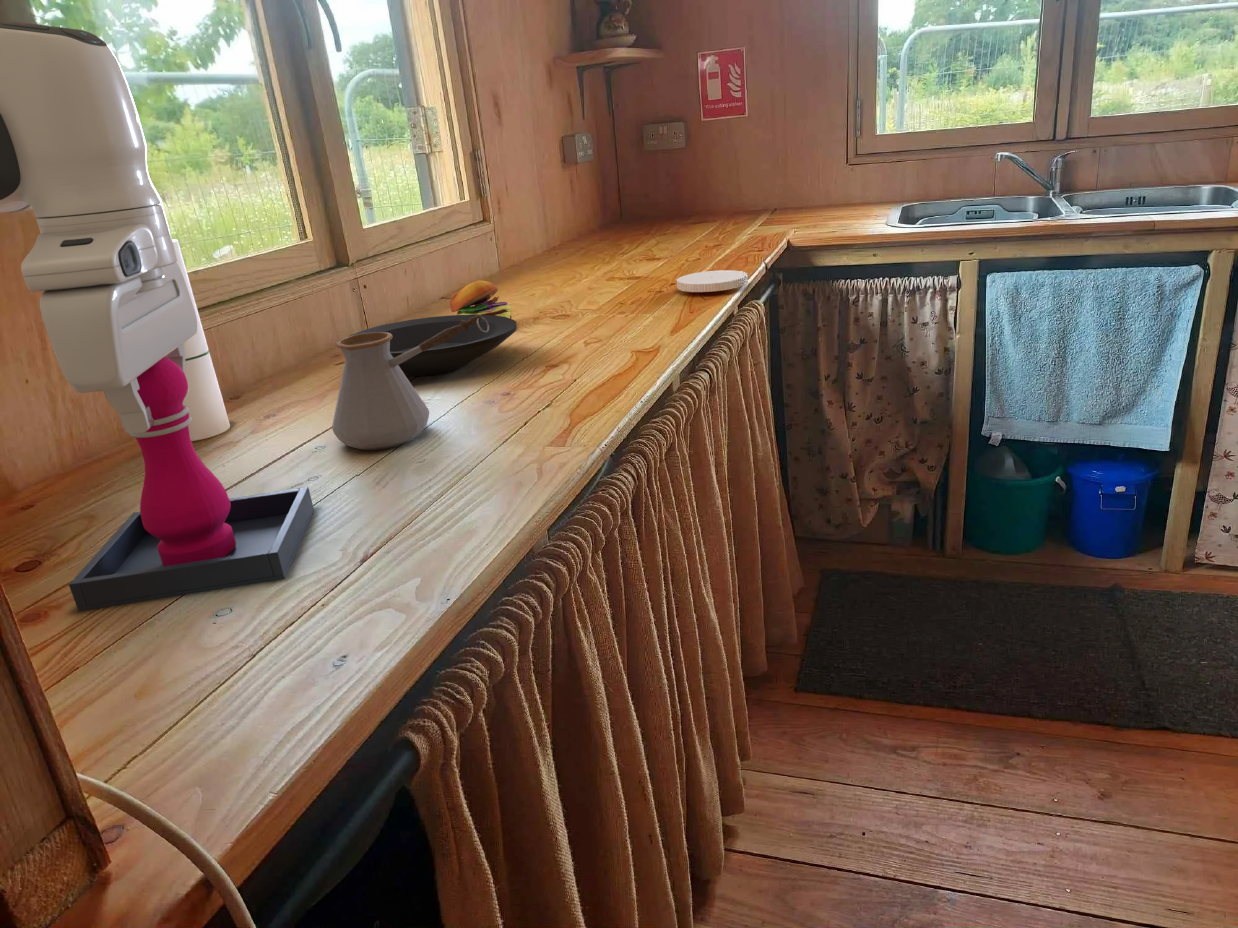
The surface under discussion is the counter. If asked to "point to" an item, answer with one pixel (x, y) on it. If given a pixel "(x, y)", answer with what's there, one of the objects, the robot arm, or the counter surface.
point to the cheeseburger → (479, 300)
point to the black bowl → (450, 352)
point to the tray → (259, 556)
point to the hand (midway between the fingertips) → (160, 413)
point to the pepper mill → (178, 476)
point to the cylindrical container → (201, 378)
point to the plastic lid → (712, 281)
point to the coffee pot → (382, 391)
